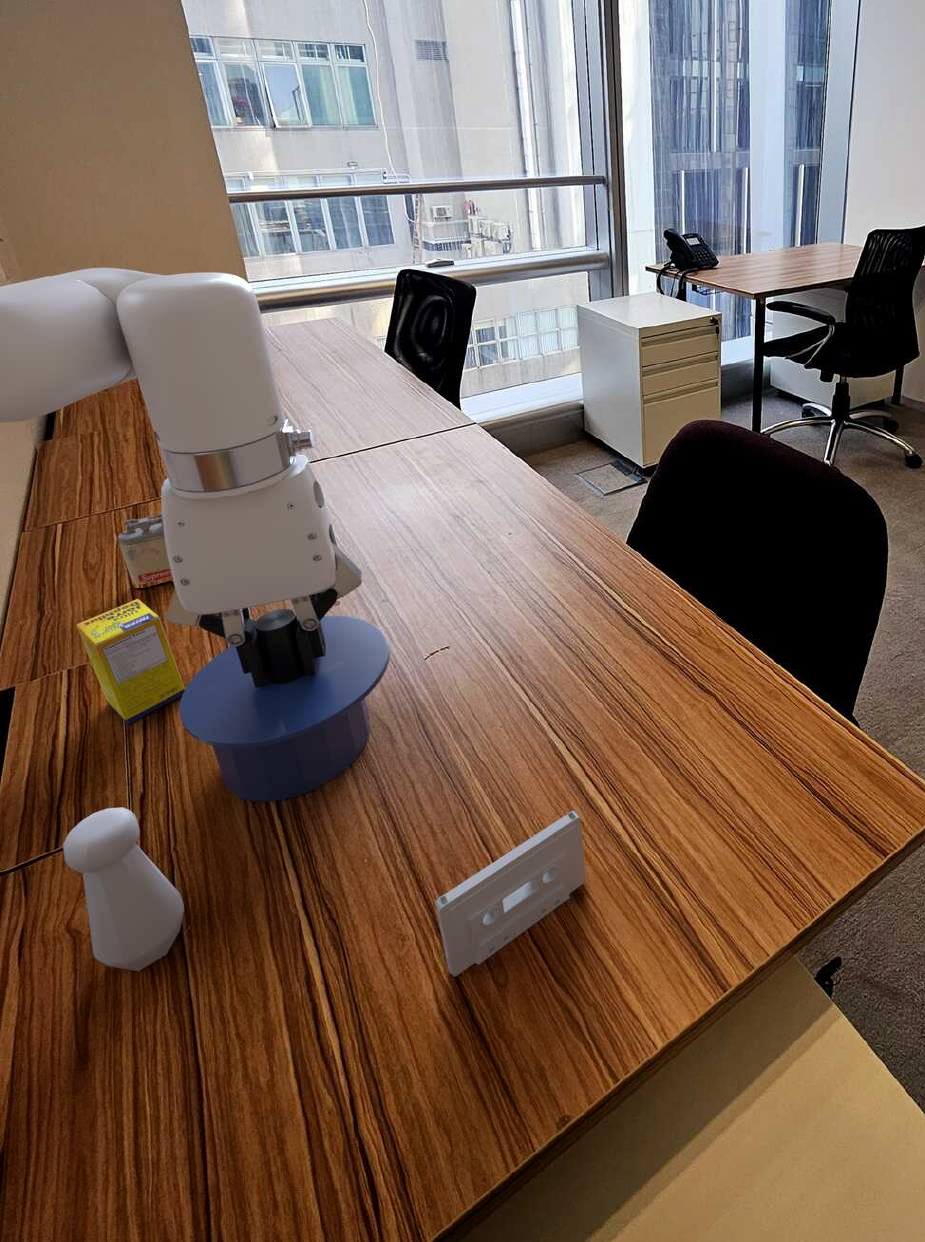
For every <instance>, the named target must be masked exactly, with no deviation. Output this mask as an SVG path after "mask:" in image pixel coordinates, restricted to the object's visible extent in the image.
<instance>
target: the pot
mask: <svg viewBox="0 0 925 1242" xmlns="http://www.w3.org/2000/svg"><path fill="white" fill-rule="evenodd" d="M367 705H368V704H367V701H366V697H365V698H364V699H363V700H362V701H361V702H360V703H359V704H357V705H356V706H355V707H353V708H352V709H351V710H350V711H348V712H347V713H345V714H344V715H342V716H340V717H339V718H337V719H336V720H334V721H332V722H330V723H328V724H327V725H325V726H323V727H321V728H318V729H316V730H314V731H312V732H310V733H307V734H304V735H302V736H299V737H296V738H294V739H290V740H287V741H283V742H280V743H276V744H271V745H266V746H261V747H253V748H235V749H234V748H221V747H216V746H211V747H212V750H213V753H214V756H215V759H216V762H217V765H218V769H219V772H220V774H221V776H222V779H223V781H224V784H225V785H226V788H227V789H228V790H229V791H230V792H231V793H232V794H233V795H235V796H237V797H238V798H241V799H243V800H246V801H250V802H260V803H265V802H266V803H268V802H269V803H270V802H271V803H272V802H279V801H283V800H288V799H292V798H295V797H299V796H302V795H304V794H306V793H310V792H312V791H313V790H316V789H317V788H319V787H321V786H323V785H325V784H327V783H328V782H330V781H332V780H333V779H335V778H336V777H338V776H339V775H340V774H342V773H343V772H344V771H346V769H348V767H350V765H351V764H352V763H354V762H355V760H356V759H357V758H358V757H359V755H360V754H361V752H362V751H363V750H364V748H365V746H366V744H367V742H368V739H369V736H370V730H371V728H370V714H369V709H368V706H367Z"/></svg>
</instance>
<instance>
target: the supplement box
mask: <svg viewBox="0 0 925 1242" xmlns="http://www.w3.org/2000/svg"><path fill="white" fill-rule="evenodd" d="M76 628H77V631H78V634H79V636H80V638H81V641H82V643H83V646H84V649H85V651H86V654H87V656H88V658H89V661H90V663H91V666H92V668H93V670H94V674H95V676H96V678H97V681H98V683H99V685H100V687H101V690H102V692H103V695H104V697H105V701H106V702H107V704H108V706H110V708H111V709H113V711H114V712H115V713H116V714H117V715H118V716H119V717H120V718H121V720H122V721H123V722H125V724H126V725H128V726H129V725H131V724H133V723H135V722H136V721H138V720H140V719H141V718H144V717H146V716H147V715H149V714H151V713H153V712H155V711H157V710H158V709H160V708H163V707H164V706H166V705H168V704H170V703H172V702H173V701H175V700H177V699H179V698H180V697H181V698H182V696H183V694H184V691H185V689H186V688H185V685H184V683H183V680H182V677H181V674H180V672H179V669H178V666H177V662H176V660H175V658H174V655H173V652H172V649H171V646H170V644H169V641H168V638H167V636H166V635H167V634H166V632H165V629H164V626H163V624H162V621H161V617H160V616H159V615H158V614H156V612H154V611H153V610H152V609H151V608H149V607H148V606H147V605H146V604H145V603H143V601H141V600H140V599H138V598H136V599H134V600H132V601H129V602H127V603H124V604H122V605H120V606H117V607H115V608H113V609H110V610H108V611H106V612H105V611H104V612H103V613H101V614H98V615H95V616H93V617H91V618H89V619H87V620H84V621H81V622H79V623H77V624H76Z"/></svg>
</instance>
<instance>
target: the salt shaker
mask: <svg viewBox="0 0 925 1242" xmlns="http://www.w3.org/2000/svg"><path fill="white" fill-rule="evenodd" d="M140 833H141V830H140V827H139V823H138V820H137V817H136V815H135V814H134V812H133V811H132V810H130V809H127V808H126V807H124V806H123V807H111V808H110V807H109V808H104V809H102V810H99V811H97V812H93V813H91V814H90V815H89V816H87V817H85V818H84V819H82V820H81V821H80V822H79V823H77V825H76V826H74V827H73V828H72V829H71V830H70V831H69V832H68V834H67V836H66V838H65V839H64V841H63V843H62V850H63V855H64V862H65V863H66V865H67V866H68V868H70V869H72V870H74V871H75V872H77V873H80V874H82V878H83V886H84V887H83V888H84V893H85V901H86V908H87V916H88V924H89V931H90V939H91V947H92V954H93V957H94V959H96V960H97V961H98V962H100V963H102V964H104V965H106V966H108V967H110V968H117V969H121V970H129V971H135V972H140V971H141V970H143V969H145V968H146V967H148V966H149V965H152V964H153V963H154V962H156V961H158V960H159V959H161V958H163V957H164V956H166V955H167V954H168V952H169V951H170V949H171V947H172V945H173V943H174V942H175V940H176V939H177V936H178V935H179V933H180V931H181V926H182V922H183V917H184V913H185V907H184V902H183V899H182V896H181V893H180V892H179V891H178V889H177V888H176V887H175V886H174V885H173V884H172V882H170V880H169V879H168V878H167V877H166V876H165V875H164V874H163V872H162V871H161V870H160V869H159V868H158V867H157V866H156V865H155V864H154V862H153V861H152V860H151V859H150V858H149V857H148V856H147V855H146V854H145V852H144V851H143V850H142V849H141V848H140V847H139V846H138V845H137V841H138V839H139V837H140Z"/></svg>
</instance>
